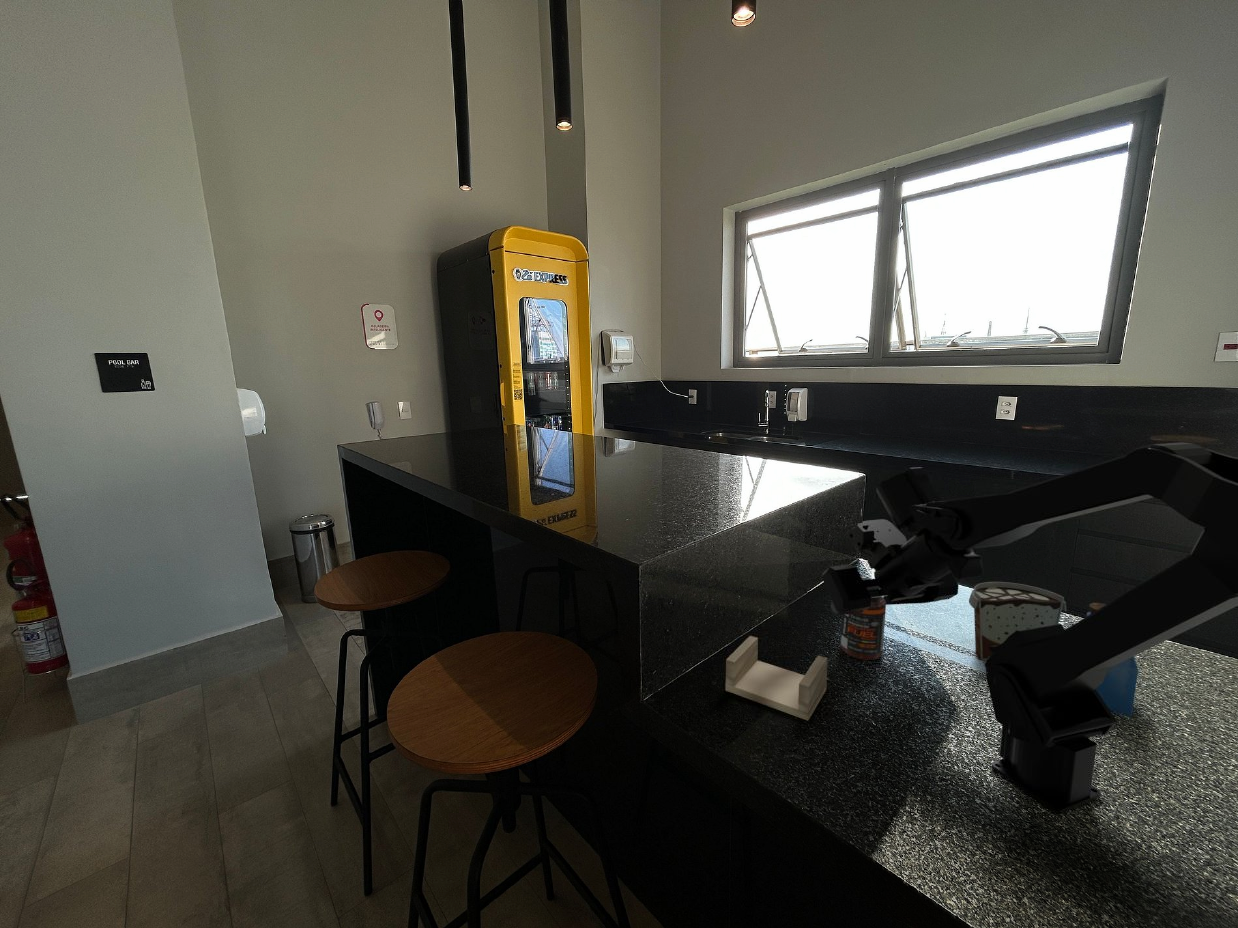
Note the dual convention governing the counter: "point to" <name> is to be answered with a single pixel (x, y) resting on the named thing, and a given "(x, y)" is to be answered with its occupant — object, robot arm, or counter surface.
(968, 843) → the counter surface
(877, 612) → the supplement bottle
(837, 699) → the counter surface
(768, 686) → the cradle
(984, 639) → the food container
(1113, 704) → the perfume bottle
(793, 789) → the counter surface
